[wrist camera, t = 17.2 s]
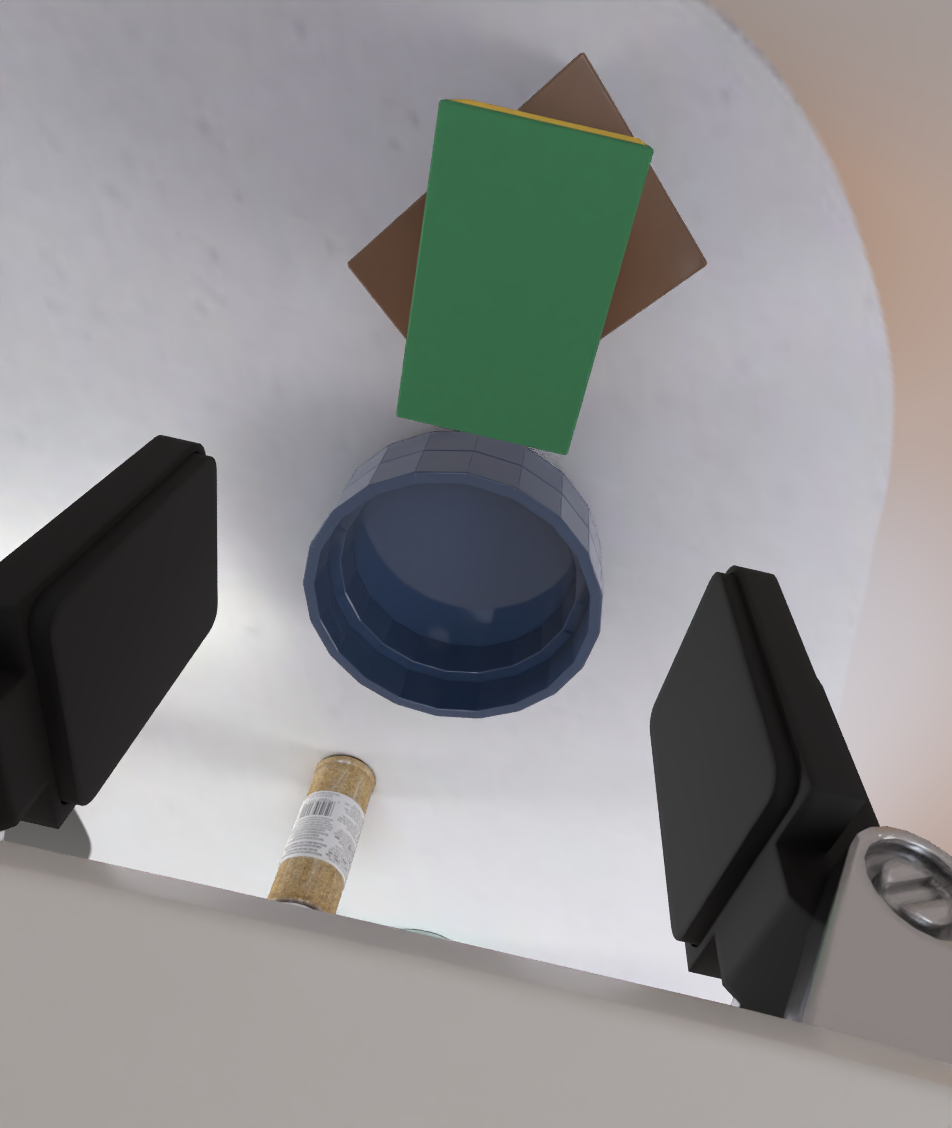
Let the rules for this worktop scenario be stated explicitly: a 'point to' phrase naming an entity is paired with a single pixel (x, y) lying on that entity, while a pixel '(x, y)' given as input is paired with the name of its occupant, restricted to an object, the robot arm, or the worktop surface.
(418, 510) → the bowl
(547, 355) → the sponge
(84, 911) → the robot arm
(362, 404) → the worktop surface
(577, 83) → the sponge stand
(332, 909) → the spice jar
